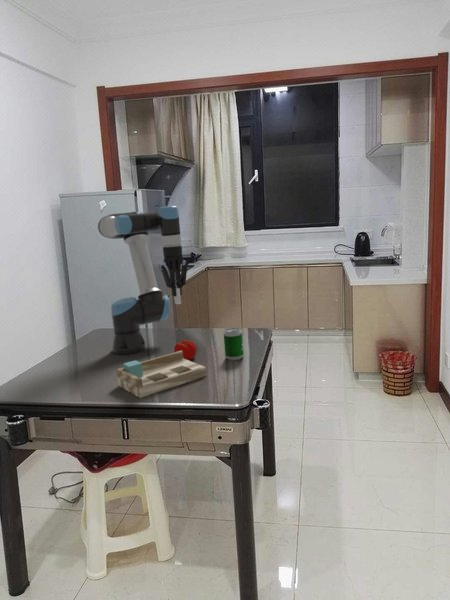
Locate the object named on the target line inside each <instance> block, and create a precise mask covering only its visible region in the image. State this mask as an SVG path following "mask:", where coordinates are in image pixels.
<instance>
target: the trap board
mask: <svg viewBox="0 0 450 600" xmlns="http://www.w3.org/2000/svg"><path fill="white" fill-rule="evenodd" d="M139 362H140V363H142V371H143V376H142V377H137V376H135V375H133V374H131V373H129V372H127V371H125V370H124V366H122V367H119V368H117V369H116V374H117V375H116V376H117V383H118V386H119V387H120V388H122V389H124V390H125V391H128V392H129V393H130V392H131V393H130V394H132V395H134V396H136V397H138V398H139V399H142V398H144V397H148V396H151V395H154V394H157V393H160V392H163V391H166V390H169V389H172V388H174V387H175V388H176V387H178V386H180V385H183V384H186V382H187V383H190V382H192V381H196V380H198V379H202V378H204V377H206V376H207V370H206V368H207V367H206V366H204V365H202V364H199V363H196V362H194V361H192V360H186V359H184V358H183V351H177V352H171V353H168V354H164V355H161V356H158V357H153V358H150V359H147V360H144V361H139Z"/></svg>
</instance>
